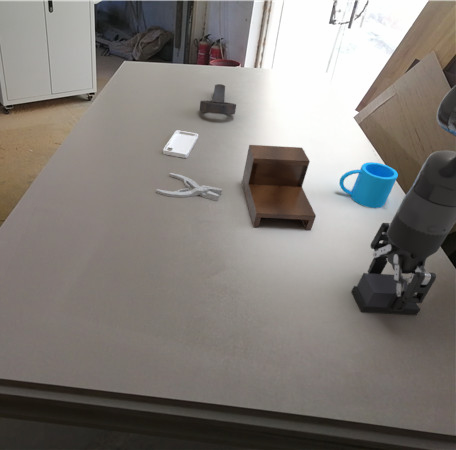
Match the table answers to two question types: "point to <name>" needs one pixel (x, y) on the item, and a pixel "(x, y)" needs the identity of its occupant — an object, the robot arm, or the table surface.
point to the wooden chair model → (277, 184)
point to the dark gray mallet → (218, 103)
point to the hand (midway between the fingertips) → (382, 291)
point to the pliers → (197, 190)
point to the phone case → (180, 144)
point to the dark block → (379, 294)
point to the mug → (371, 184)
